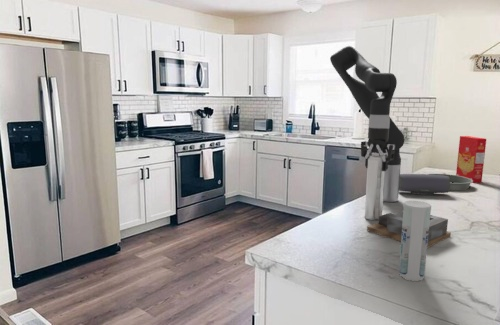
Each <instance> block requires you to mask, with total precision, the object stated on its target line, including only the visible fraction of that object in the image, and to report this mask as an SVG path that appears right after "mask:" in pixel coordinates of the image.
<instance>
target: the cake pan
mask: <svg viewBox="0 0 500 325" xmlns="http://www.w3.org/2000/svg"><path fill="white" fill-rule="evenodd" d="M429 174H430V175H443V176H448V177H449V178H450V190H449V191H466V190H468V189H469V187H470V186H471V184H472V182H473V180H471V179H469V178H466V177H462V176H457V175H456V174H455V175H454V174H446V173H429ZM452 182H454V183H452ZM465 189H466V190H465Z"/></svg>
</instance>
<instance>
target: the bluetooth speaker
mask: <svg viewBox="0 0 500 325" xmlns="http://www.w3.org/2000/svg"><path fill="white" fill-rule="evenodd" d="M430 174H431V173H400V181H399V192H408V193H410V194H411V195H423V194H425V196H426V195H427V196H428V195H429V196H433V195H434V194H446V193H449V192H450V191H451V190H450V183H451V182H450V178H449V177H448V176H443V175H430Z"/></svg>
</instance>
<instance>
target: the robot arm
mask: <svg viewBox="0 0 500 325" xmlns="http://www.w3.org/2000/svg"><path fill="white" fill-rule="evenodd" d="M329 60H330V63H331V65H332V67H333V68H334V70H335V71H336V72H337V74H338V75H339V77H340V78H341V80H342V81H343V82H344V84H345V85H346V87H347V88H348V91H350V94H351V95H352V97H353V99H354V100H355V102H356V103H357V105H358V106H359V108H360V110H361V111H362V113H363V114H364V115H365V117H367V118H368V132H367V138H368V140H367V141H366V140H365V141H360V155H361V157H363V158H364V159H365V169H367V168H368V158H370V156H372V155H375V153H376V154H378V156H381V157H382V159H383V162H382V171H385V177H384V193H383V202H389V203H394V202H398V201H399V195H400V194H399V192H400V191H399V181H400V174H401V164H402V157H401V155H400V149H401V148H403V146H404V143H405V135H404V133H403V132H402V131H401V129H400V128H399V127H398V126H397V125H396V124H395V122H394V121H393V119H392V118H391V117H390V114H391V112H390V110H391V104H392V100H393V97H394V95H395V91H396V88H397V84H398V83H397V80H398V79H397V77H396V76H395V74H394V73H391V72H381V70H380V69H379V68H378V67H376V66H375V65H373V64H372V63H370V62H369V61H368V60H366V59H365V58H364V57H363V55H362V54H361V53H360V52H359V51H357V50H356V48H354V47H353V46H352V45H346V46H344V47H342V48H341V49H339V50H338V51H337V52H335V53H333V54H332V55H331V56H330V59H329ZM354 66H355V67H354ZM353 67H354V68H355V69H354V71H355V75H356V77H357V78H358V79H359V80H358V79H357V78H354V77H353V76H352V75H351V74H349V73H348V70H349V69H351V68H353ZM378 93H381V94H380V96H379V95H378Z"/></svg>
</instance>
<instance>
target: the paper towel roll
mask: <svg viewBox="0 0 500 325" xmlns="http://www.w3.org/2000/svg"><path fill="white" fill-rule="evenodd" d="M382 162H383V159H382V157H381V156H379V154H377V155H375V154H373V155H372V156H370V158H368V168H366V169H367V171H366V172H367V173H366V186H365V188H366V189H365V206H364V218H365V219H366V220H368V221H379V216H381V215H383V207H384V204H383V203H384V201H383V193H384V177H385V171H382Z"/></svg>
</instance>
